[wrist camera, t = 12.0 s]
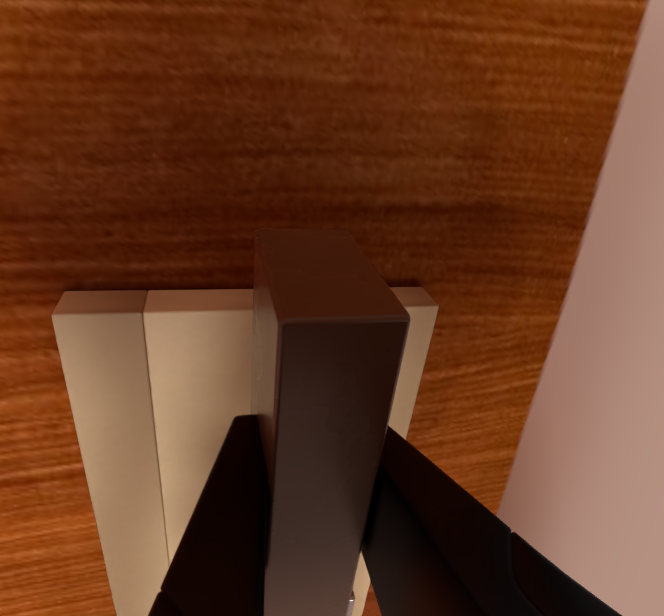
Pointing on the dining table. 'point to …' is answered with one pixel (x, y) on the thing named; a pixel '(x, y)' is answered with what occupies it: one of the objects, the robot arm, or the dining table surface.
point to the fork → (320, 408)
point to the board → (174, 412)
